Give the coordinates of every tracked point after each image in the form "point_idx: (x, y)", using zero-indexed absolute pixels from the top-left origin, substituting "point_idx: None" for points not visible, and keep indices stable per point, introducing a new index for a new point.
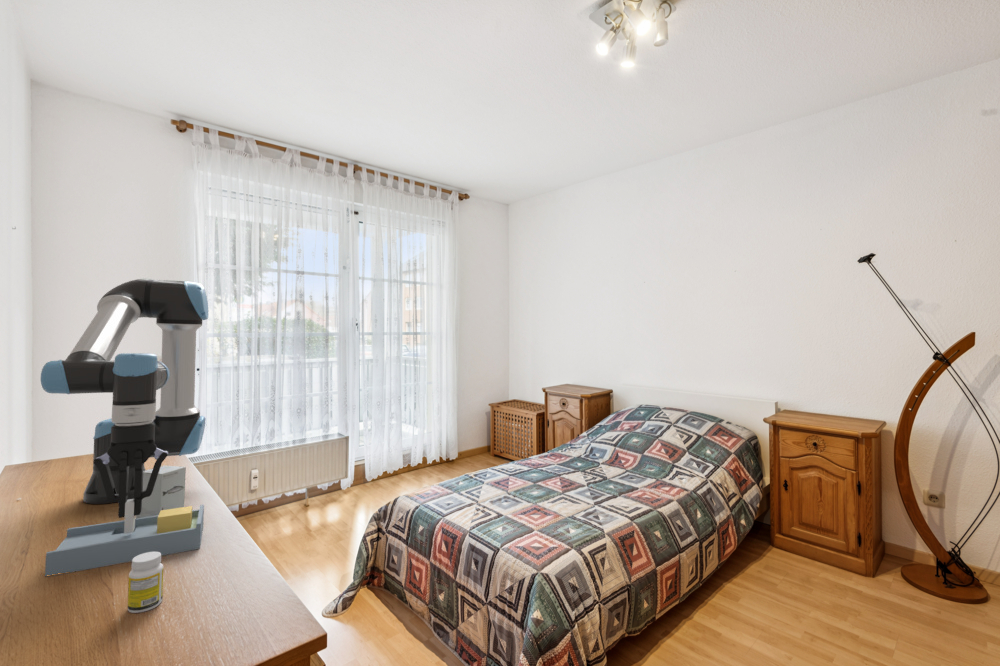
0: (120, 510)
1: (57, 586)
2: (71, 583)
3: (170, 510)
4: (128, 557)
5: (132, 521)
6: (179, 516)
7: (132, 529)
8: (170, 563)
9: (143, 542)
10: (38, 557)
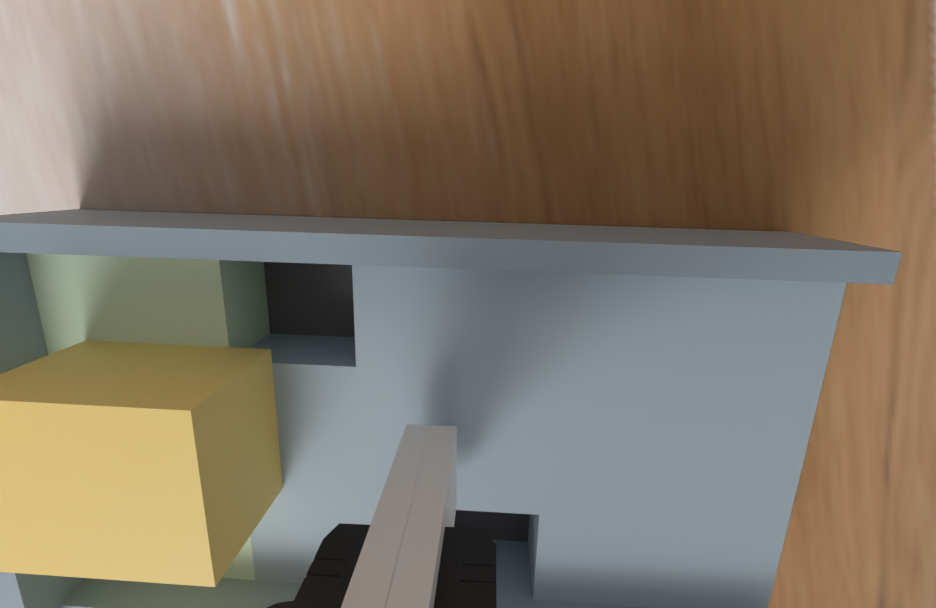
0: (478, 584)
1: (721, 47)
2: (658, 51)
3: (137, 546)
4: (415, 221)
5: (394, 473)
6: (45, 394)
7: (405, 437)
8: (191, 58)
9: (315, 227)
10: (832, 528)
